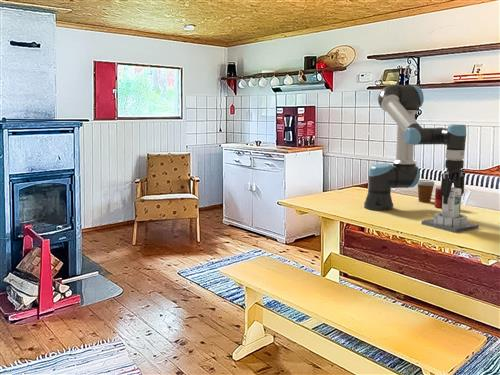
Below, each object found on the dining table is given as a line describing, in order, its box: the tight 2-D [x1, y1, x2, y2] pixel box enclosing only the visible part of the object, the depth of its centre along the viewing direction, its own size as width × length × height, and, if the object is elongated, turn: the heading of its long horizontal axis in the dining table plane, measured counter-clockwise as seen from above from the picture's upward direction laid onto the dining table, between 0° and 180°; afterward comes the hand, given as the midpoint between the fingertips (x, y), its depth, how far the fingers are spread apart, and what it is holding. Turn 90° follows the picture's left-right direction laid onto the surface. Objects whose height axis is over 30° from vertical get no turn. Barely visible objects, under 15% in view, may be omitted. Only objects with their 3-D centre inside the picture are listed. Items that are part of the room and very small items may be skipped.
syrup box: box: [441, 186, 462, 218], centre depth 214 cm, size 6×6×14 cm
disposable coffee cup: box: [416, 179, 435, 204], centre depth 272 cm, size 10×10×12 cm
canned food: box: [434, 185, 443, 210], centre depth 256 cm, size 8×8×11 cm
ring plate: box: [421, 211, 480, 233], centre depth 216 cm, size 18×16×5 cm
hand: (450, 210), depth 215 cm, fingers closed on syrup box, 6 cm apart
